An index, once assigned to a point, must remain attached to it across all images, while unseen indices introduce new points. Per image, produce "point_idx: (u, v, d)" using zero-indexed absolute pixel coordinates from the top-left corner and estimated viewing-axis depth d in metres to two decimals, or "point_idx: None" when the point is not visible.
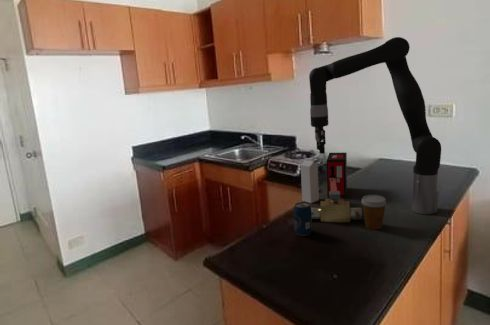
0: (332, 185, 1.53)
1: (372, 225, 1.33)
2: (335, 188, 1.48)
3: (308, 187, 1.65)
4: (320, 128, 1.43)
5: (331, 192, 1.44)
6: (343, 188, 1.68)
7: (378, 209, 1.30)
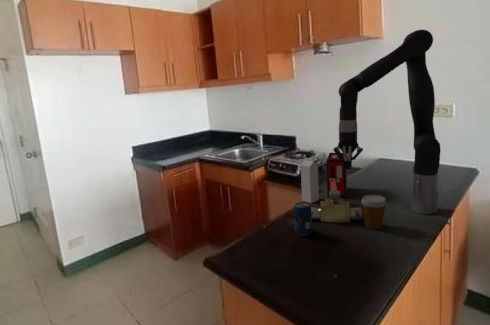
0: (332, 185, 1.53)
1: (372, 225, 1.33)
2: (335, 188, 1.48)
3: (308, 187, 1.65)
4: (356, 142, 1.43)
5: (331, 192, 1.44)
6: (343, 188, 1.68)
7: (378, 209, 1.30)
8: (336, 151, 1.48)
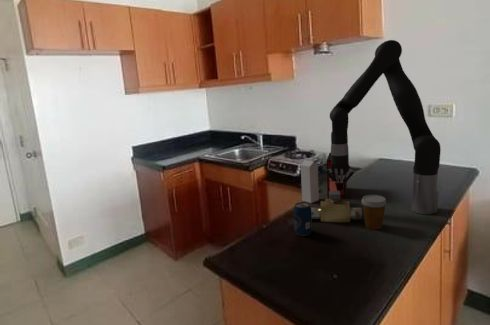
0: (332, 185, 1.53)
1: (372, 225, 1.33)
2: (335, 188, 1.48)
3: (308, 187, 1.65)
4: (348, 165, 1.47)
5: (331, 192, 1.44)
6: None
7: (378, 209, 1.30)
8: (329, 173, 1.52)
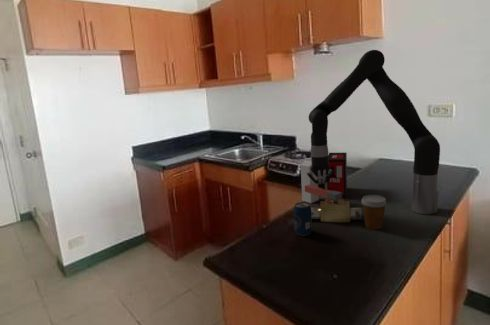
0: (315, 188, 1.51)
1: (372, 225, 1.33)
2: (325, 189, 1.48)
3: None
4: None
5: (331, 193, 1.42)
6: (343, 188, 1.68)
7: (378, 209, 1.30)
8: (311, 176, 1.50)
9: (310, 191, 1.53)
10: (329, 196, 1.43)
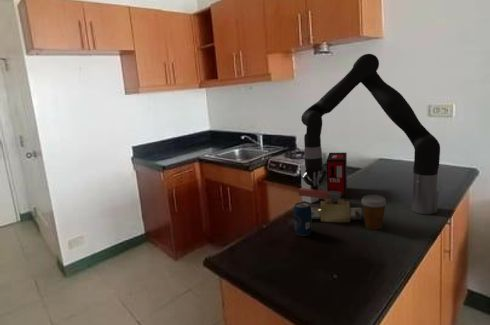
0: (311, 190, 1.48)
1: (372, 225, 1.33)
2: (322, 190, 1.47)
3: (308, 187, 1.65)
4: None
5: (332, 193, 1.42)
6: (343, 188, 1.68)
7: (378, 209, 1.30)
8: (307, 179, 1.47)
9: (305, 194, 1.49)
10: (330, 197, 1.42)
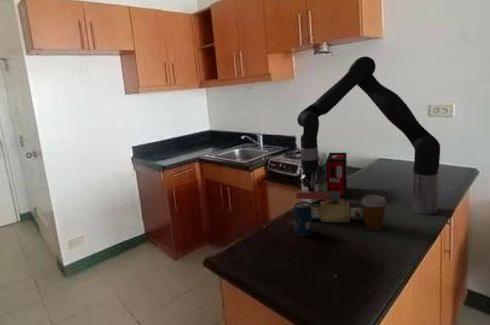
0: (310, 192, 1.46)
1: (372, 225, 1.33)
2: None
3: None
4: None
5: (333, 193, 1.42)
6: (343, 188, 1.68)
7: (378, 209, 1.30)
8: (305, 181, 1.44)
9: (304, 197, 1.46)
10: (331, 197, 1.42)
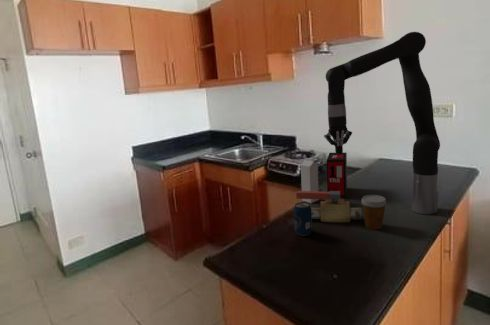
0: (310, 192, 1.46)
1: (372, 225, 1.33)
2: None
3: (308, 187, 1.65)
4: None
5: (333, 193, 1.42)
6: (343, 188, 1.68)
7: (378, 209, 1.30)
8: (329, 138, 1.44)
9: (304, 197, 1.46)
10: (331, 197, 1.42)
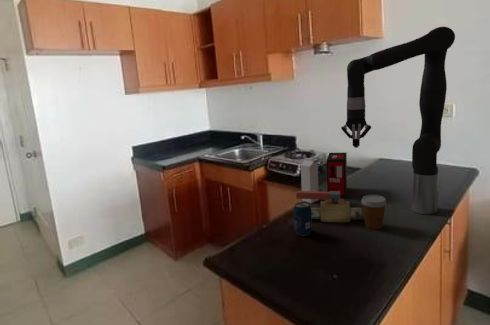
0: (310, 192, 1.46)
1: (372, 225, 1.33)
2: None
3: (308, 187, 1.65)
4: None
5: (333, 193, 1.42)
6: (343, 188, 1.68)
7: (378, 209, 1.30)
8: (344, 130, 1.46)
9: (304, 197, 1.46)
10: (331, 197, 1.42)
